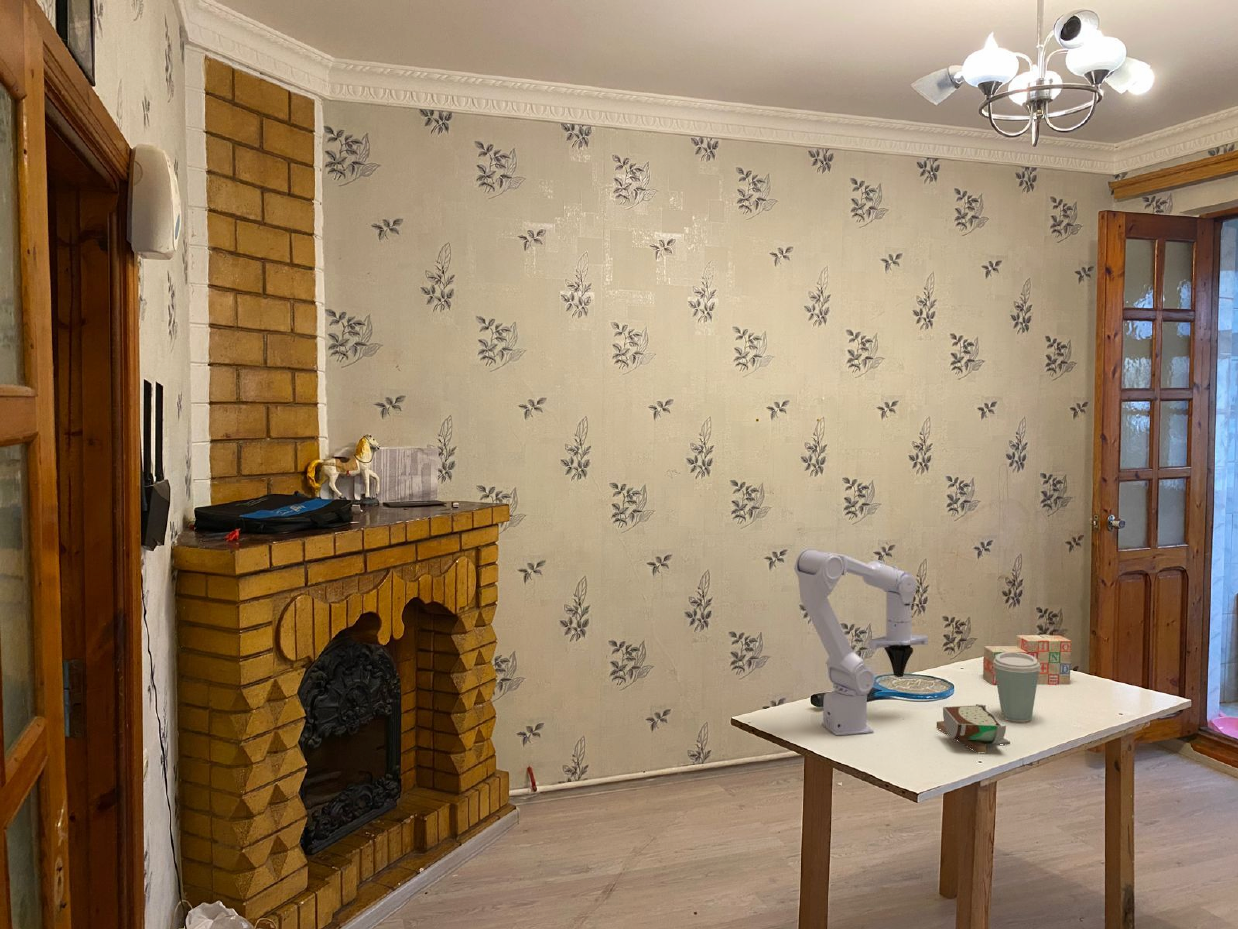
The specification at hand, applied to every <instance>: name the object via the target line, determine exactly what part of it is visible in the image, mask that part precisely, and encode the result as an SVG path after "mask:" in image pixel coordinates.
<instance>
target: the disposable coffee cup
mask: <svg viewBox="0 0 1238 929" xmlns="http://www.w3.org/2000/svg"><path fill="white" fill-rule="evenodd" d="M993 666H994V669H995V675H996V682H997V685H996V688H997V693H998V700H999V706H1000V711H1001V712H1000V713H1001V715H1002V718H1003V719H1005V720H1006V719H1007V720H1006V721H1010V722H1012V723H1013V722H1014V723H1028V722H1031V719H1032V717H1033V711H1034V706H1035V698H1036V694H1037V693H1036V692H1037V687H1038V685H1037V681H1038V674H1039V670H1040V668H1041V667H1040V663H1039V662H1038V660H1037V659H1036V658H1035V657H1033V656H1031V655H1028V654H1025V653H1017V652H1003V653H1000V654H998V655H996V658H995V659H994V661H993Z"/></svg>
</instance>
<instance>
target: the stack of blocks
mask: <svg viewBox="0 0 1238 929" xmlns="http://www.w3.org/2000/svg"><path fill="white" fill-rule="evenodd" d="M1015 636H1016V638H1015V639H1016V640H1015V645H1011V646H1010V645H1008V646H1006V645H997V646H994V645H987V646H986V645H985V646H983V659H982V660H983V663H982V664H983V665H982V667H983V668H982V670H983V671H982V679H983V680H985V681H986V682H988V683H989V684H991V685H992V686H997V682H996V675H995V669H994V666H993V661H994V659H995V658H996V655H998V654H1000V653H1003V652H1017V653H1025V654H1028V655H1031V656H1033V657H1035V658H1036V659H1037V660H1038V662H1039V663H1040V667H1041V668H1040V670H1039V674H1038V681H1037V686H1039V685H1040V686H1041V685H1042V686H1044V685H1046V686H1050V685H1051V686H1057V685H1058V686H1061V685H1062V686H1067V685H1070V684H1071V664H1072V640H1070V639H1068V638H1067V637H1064V636H1061V635H1058V634H1057V635H1056V634H1055V635H1049V634H1037V635H1036V634H1033V635H1032V634H1030V635H1029V634H1028V635H1027V634H1026V635H1025V634H1024V635H1023V634H1019V635H1015Z"/></svg>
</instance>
